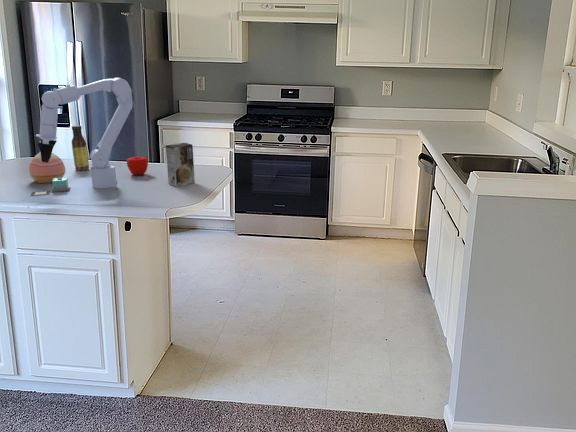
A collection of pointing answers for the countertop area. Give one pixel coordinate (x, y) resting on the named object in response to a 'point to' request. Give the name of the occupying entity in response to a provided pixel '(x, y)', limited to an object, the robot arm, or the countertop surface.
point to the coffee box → (180, 164)
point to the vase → (46, 169)
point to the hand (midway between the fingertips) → (46, 160)
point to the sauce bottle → (79, 149)
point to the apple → (137, 165)
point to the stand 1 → (40, 193)
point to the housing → (60, 184)
